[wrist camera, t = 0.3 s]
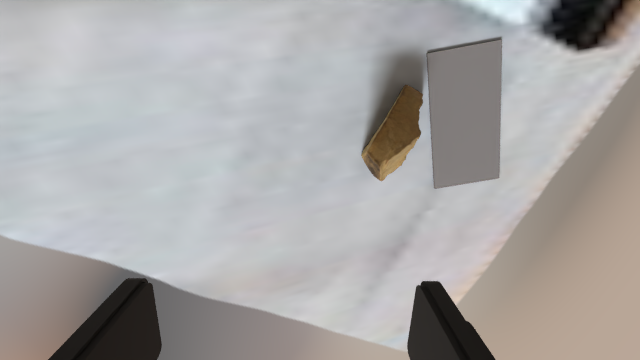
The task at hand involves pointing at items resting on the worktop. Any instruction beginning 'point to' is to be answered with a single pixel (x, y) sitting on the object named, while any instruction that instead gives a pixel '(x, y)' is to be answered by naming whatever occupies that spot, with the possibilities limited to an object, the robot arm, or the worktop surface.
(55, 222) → the worktop surface
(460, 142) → the rubber mat
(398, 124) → the rock
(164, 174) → the worktop surface
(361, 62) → the worktop surface
